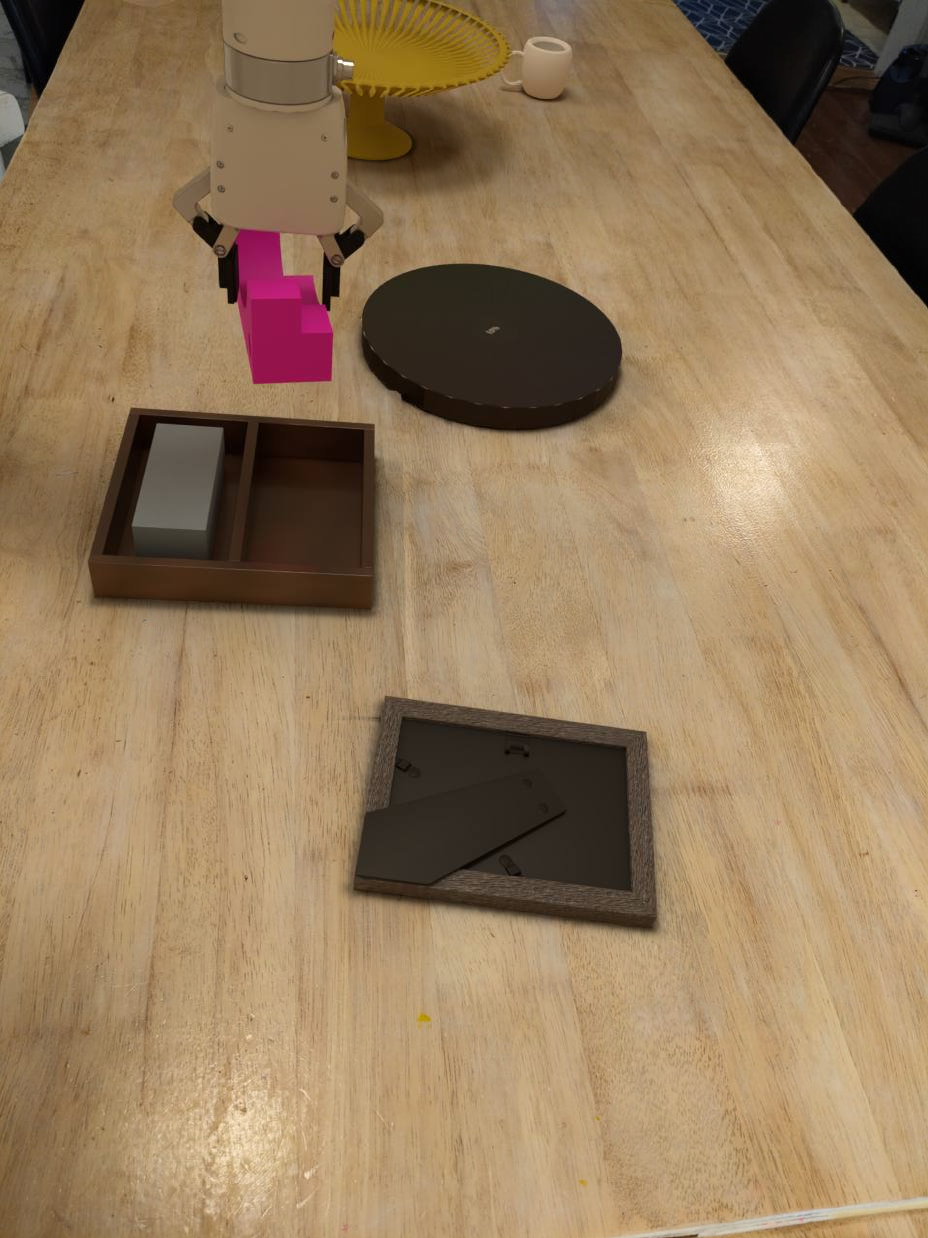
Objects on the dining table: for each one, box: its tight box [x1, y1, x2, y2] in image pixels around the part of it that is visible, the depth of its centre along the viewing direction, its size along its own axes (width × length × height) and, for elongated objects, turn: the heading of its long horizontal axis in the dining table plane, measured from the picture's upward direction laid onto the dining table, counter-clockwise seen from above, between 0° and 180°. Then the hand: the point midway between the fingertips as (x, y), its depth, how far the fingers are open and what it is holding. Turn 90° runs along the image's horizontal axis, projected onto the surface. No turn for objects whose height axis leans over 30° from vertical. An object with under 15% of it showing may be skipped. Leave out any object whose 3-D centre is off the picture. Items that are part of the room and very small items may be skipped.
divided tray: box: [87, 407, 376, 611], centre depth 93 cm, size 23×21×5 cm
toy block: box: [235, 229, 334, 385], centre depth 84 cm, size 15×6×8 cm, turn 14°
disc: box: [360, 262, 624, 430], centre depth 118 cm, size 30×30×3 cm
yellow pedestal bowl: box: [333, 0, 513, 161], centre depth 149 cm, size 40×40×15 cm
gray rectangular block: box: [132, 423, 226, 560], centre depth 91 cm, size 6×14×5 cm, turn 3°
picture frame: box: [353, 695, 658, 928], centre depth 76 cm, size 16×2×21 cm
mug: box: [499, 36, 573, 100], centre depth 173 cm, size 12×8×8 cm
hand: (280, 297), depth 85 cm, fingers closed on toy block, 7 cm apart
